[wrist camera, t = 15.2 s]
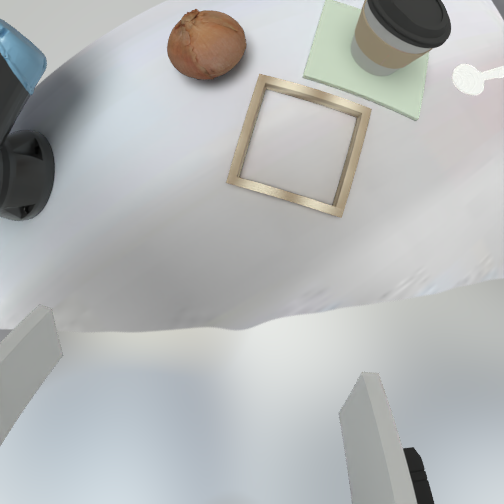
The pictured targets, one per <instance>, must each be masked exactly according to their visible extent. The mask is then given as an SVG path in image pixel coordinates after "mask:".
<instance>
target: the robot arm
mask: <svg viewBox="0 0 504 504" xmlns="http://www.w3.org/2000/svg"><path fill="white" fill-rule="evenodd" d="M46 66H47V61H46V57H45V56H44V54H43V53H42V52H41V51H40V50H39V49H38V48H37V47H36V46H35V45H34V44H33V43H32V42H31V41H29V40H28V39H27V38H26V37H24V36H23V35H22V34H21V33H20V32H18V31H17V30H16V29H15V28H13V27H12V26H11V25H9V24H8V23H7V22H5V21H4V20H2V19H0V217H3V218H6V219H10V220H14V221H22V220H27V219H31V218H33V217H35V216H36V215H37V214H38V213H39V212H40V211H41V210H42V209H43V208H44V206H45V204H46V202H47V200H48V198H49V196H50V193H51V189H52V185H53V179H54V159H53V154H52V150H51V147H50V145H49V143H48V141H47V139H46V138H45V137H44V136H43V135H42V134H40V133H39V132H36V131H30V130H20V131H17V132H14V133H11V134H9V132H10V130H11V128H12V126H13V125H14V123H15V121H16V119H17V117H18V115H19V114H20V112H21V110H22V108H23V107H24V105H25V103H26V102H27V100H28V98H29V97H30V95H32V94H33V92H34V88H35V86H36V85H37V83H38V81H39V80H40V78H41V76H42V75H43V73H44V71H45V69H46ZM62 356H63V353H62V349H61V345H60V342H59V338H58V334H57V330H56V326H55V321H54V317H53V312H52V309H51V308H48V307H45V306H42V305H40V304H39V305H38V306H37V307H36V308H35V309H34V310H33V311H32V312H31V313H30V314H29V315H28V316H27V317H26V318H25V319H24V320H23V321H22V322H21V323H20V324H19V325H18V326H17V327H16V328H15V329H14V330H13V331H12V332H11V333H10V334H9V335H8V336H7V337H6V338H5V339H4V340H3V341H2V342H1V343H0V446H1V444H2V443H3V441H4V439H5V438H6V436H7V435H8V433H9V431H10V430H11V428H12V427H13V425H14V424H15V422H16V421H17V419H18V418H19V416H20V415H21V413H22V411H23V410H24V409H25V407H26V406H27V404H28V403H29V401H30V400H31V399H32V397H33V396H34V394H35V393H36V391H37V390H38V389H39V387H40V386H41V385H42V383H43V382H44V380H45V379H46V378H47V376H48V375H49V374H50V372H51V371H52V369H53V368H54V367H55V366H56V364H57V363H58V362H59V360H60V359H61V358H62ZM339 418H340V424H341V430H342V436H343V443H344V449H345V455H346V462H347V469H348V476H349V484H350V491H351V499H352V504H434V501H433V497H432V493H431V490H430V486H429V482H428V480H427V475H426V472H425V471H424V465H423V462H422V459H421V457H420V455H419V454H418V453H417V452H416V450H415V449H414V448H413V447H412V448H404V449H403V447H402V444H401V441H400V437H399V434H398V431H397V428H396V424H395V421H394V418H393V415H392V412H391V409H390V406H389V402H388V400H387V396H386V393H385V391H384V388H383V385H382V382H381V380H380V376H379V374H378V373H368V372H362V373H361V375H360V377H359V379H358V380H357V382H356V384H355V386H354V388H353V390H352V391H351V393H350V395H349V396H348V398H347V400H346V402H345V404H344V405H343V407H342V409H341V410H340V412H339Z"/></svg>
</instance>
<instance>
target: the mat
mask: <svg viewBox="0 0 504 504" xmlns="http://www.w3.org/2000/svg"><path fill="white" fill-rule="evenodd" d="M360 13H361V9H358V8H355V7H352V6H349V5H346V4H343V3H340V2H337V1H333V0H325V4H324V7H323V11H322V14H321V17H320V21H319V24H318V27H317V31H316V34H315V38H314V41H313V44H312V48H311V51H310V54H309V58H308V61H307V65H306V68H305V71H304V75H303V78H306V79H309V80H312V81H316V82H319V83H322V84H325V85H328V86H331V87H334V88H337V89H340V90H343V91H346V92H348V93H351V94H354V95H356V96H359V97H362V98H364V99H367V100H369V101H372V102H374V103H377V104H379V105H382V106H384V107H386V108H389V109H391V110H393V111H395V112H398V113H400V114H402V115H404V116H406V117H409V118H411V119H413V120H415V121H416V120H418V119H419V114H420V109H421V103H422V98H423V92H424V85H425V79H426V72H427V64H428V56H429V52H427V53H426V54H424V55H423V56H421V57H419V58H418V59H416V60H415V61H413V62H411V63H410V64H408V65H407V66H405V67H403V68H400V69H398V70H397V71H395V72H394V73H392V74H390V75H388V76H376V75H373V74H370V73H368V72H366V71H365V70H363V69H362V68H361V67H360V66H359V65H358V64H357V63H356V62H355V60H354V58H353V56H352V54H351V43H352V40H353V37H354V34H355V28H356V25H357V22H358V19H359V16H360Z"/></svg>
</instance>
